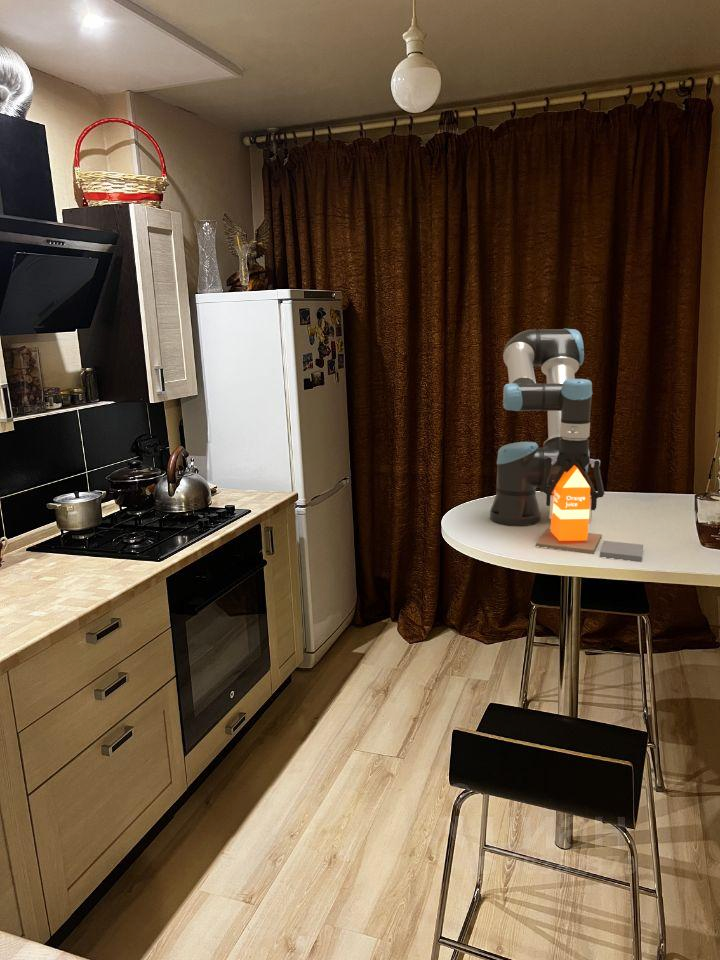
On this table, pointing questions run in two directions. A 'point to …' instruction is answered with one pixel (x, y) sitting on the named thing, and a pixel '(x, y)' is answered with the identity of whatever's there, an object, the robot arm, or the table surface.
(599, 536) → the cork mat
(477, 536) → the table surface
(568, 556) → the table surface
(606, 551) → the tile
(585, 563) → the table surface
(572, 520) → the orange juice
